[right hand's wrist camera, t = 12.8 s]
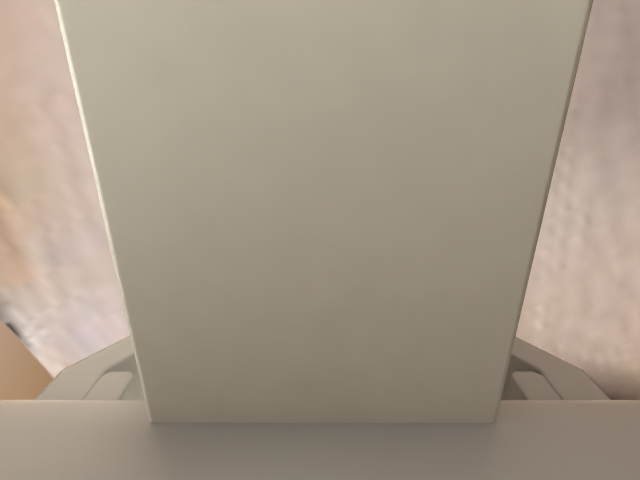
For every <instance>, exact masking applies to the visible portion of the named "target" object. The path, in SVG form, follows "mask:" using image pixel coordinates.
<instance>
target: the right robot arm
mask: <svg viewBox="0 0 640 480" xmlns="http://www.w3.org/2000/svg"><path fill="white" fill-rule="evenodd" d="M0 480H640V400H610V399H609V397H608V396H607V395H606V394H605V393H604V392H603V391H602V390H601V389H600V388H599V387H598V386H597V385H596V384H595V383H594V381H593V380H592V379H591V378H590V377H589V376H588V375H587V374H586V373H585V372H584V371H583V370H581V369H579V368H577V367H575V366H573V365H571V364H569V363H567V362H565V361H563V360H561V359H559V358H557V357H555V356H553V355H551V354H549V353H547V352H545V351H543V350H541V349H539V348H537V347H535V346H533V345H531V344H529V343H527V342H525V341H523V340H521V339H519V338H517V337H515V340H514V344H513V348H512V353H511V357H510V361H509V366H508V370H507V374H506V379H505V383H504V387H503V392H502V396H501V400H500V405H499V409H498V413H497V417H496V422H494V423H153V422H150V421H149V417H148V412H147V408H146V403H145V399H144V394H143V390H142V386H141V381H140V377H139V372H138V368H137V364H136V359H135V355H134V350H133V346H132V341H131V337H130V336H129V337H127V338H125V339H123V340H121V341H119V342H117V343H115V344H113V345H111V346H109V347H107V348H105V349H103V350H101V351H99V352H97V353H95V354H93V355H91V356H89V357H87V358H85V359H83V360H81V361H79V362H77V363H75V364H73V365H71V366H69V367H67V368H65V369H63V370H62V371H61V372H60V373H59V374H58V375H57V376H56V377H55V378H54V379H53V380H52V381H51V382H50V384H49V385H48V386H47V387H46V388H45V389H44V390H43V391H42V392H41V393H40V394H39V395H38V396H37V397H36V399H35V400H0Z"/></svg>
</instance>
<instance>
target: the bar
mask: <svg viewBox="0 0 640 480" xmlns="http://www.w3.org/2000/svg"><path fill="white" fill-rule="evenodd" d="M54 1H55V6H56V10H57V14H58V19H59V23H60V28H61V32H62V36H63V41H64V45H65V50H66V54H67V59H68V63H69V67H70V72H71V76H72V81H73V85H74V89H75V94H76V98H77V103H78V107H79V112H80V116H81V120H82V125H83V129H84V134H85V138H86V143H87V147H88V151H89V156H90V160H91V165H92V169H93V173H94V178H95V182H96V187H97V191H98V196H99V200H100V204H101V209H102V213H103V218H104V222H105V226H106V231H107V235H108V240H109V244H110V249H111V253H112V257H113V262H114V266H115V271H116V275H117V280H118V284H119V288H120V293H121V297H122V302H123V306H124V310H125V315H126V319H127V324H128V328H129V333H130V337H131V341H132V346H133V350H134V355H135V359H136V364H137V368H138V372H139V377H140V381H141V386H142V390H143V394H144V399H145V403H146V408H147V412H148V417H149V421H150V422H153V423H494V422H496V417H497V413H498V409H499V405H500V400H501V396H502V392H503V387H504V383H505V379H506V374H507V370H508V366H509V361H510V357H511V353H512V348H513V344H514V340H515V335H516V331H517V327H518V323H519V318H520V314H521V310H522V305H523V301H524V297H525V292H526V288H527V284H528V279H529V275H530V271H531V266H532V262H533V258H534V253H535V249H536V245H537V241H538V236H539V232H540V228H541V223H542V219H543V215H544V210H545V206H546V202H547V197H548V193H549V189H550V184H551V180H552V176H553V171H554V167H555V163H556V159H557V154H558V150H559V146H560V141H561V137H562V133H563V128H564V124H565V120H566V115H567V111H568V107H569V102H570V98H571V94H572V89H573V85H574V81H575V77H576V72H577V68H578V64H579V59H580V55H581V51H582V46H583V42H584V38H585V33H586V29H587V25H588V20H589V16H590V12H591V7H592V3H593V0H54Z"/></svg>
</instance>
